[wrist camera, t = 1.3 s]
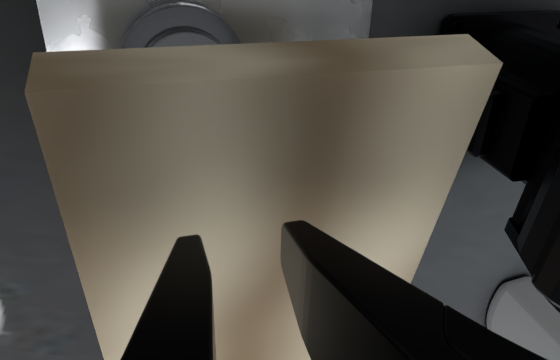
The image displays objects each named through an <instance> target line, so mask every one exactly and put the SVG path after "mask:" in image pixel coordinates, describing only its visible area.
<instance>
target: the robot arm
mask: <svg viewBox="0 0 560 360" xmlns="http://www.w3.org/2000/svg"><path fill="white" fill-rule="evenodd" d="M559 20H560V11H530V12H497V13H464V14H451V15H448V16H447V17H446V18H445V19H444V20H443V21H442V24H441V28H440V33H439V35H457V34H469V35H470V36H471V37H472V38H474V39H475V40H476V41H477V42H478V43H480V44H481V45H482V46H483V47H484V48H486V49H487V50H488V51H489V52H490V53H492V54H493V55H494V56H495V57H496V58H498V59H499V60H500V61H501V62H502V63H503V65H502V67H501V69H500V72H499V74H498V76H497V79H496V81H495V84H494V86H493V88H492V91H491V93H490V96H489V98H488V100H487V103H486V105H485V107H484V110H483V112H482V115H481V117H480V119H479V122H478V124H477V126H476V129H475V131H474V134H473V136H472V138H471V141H470V143H469V146H468V148H467V150H466V151H467V152H469V153H470V154H471V155H473V156H474V157H480V158H481V159H482V160H484V161H485V162H487V163H488V164H489V165H491V166H492V167H493V168H495V169H496V170H497V171H499V172H500V173H502V174H503V175H504V176H506V177H507V178H508V179H510V180H511V181H522V182H523V183H524V184H526V186H525V188H524V190H523V193H522V195H521V198H520V200H519V202H518V205H517V207H516V210H515V212H514V214H513V217H511V218H509V220H508V222H507V224H506V227H505V232H506V233H507V235H508V237H509V239H510V240H511V242H512V244H513V245H514V247H515V249H516V250H517V252H518V254H519V255H520V257H521V259H522V260H523V262H524V264H525V265H526V267H527V269H528V270H529V272H530V274H531V275H532V279H531V281H532V284H533V285H534V287H535V288H536V290H537V291H538V292H540V293H541V294H542V295H543V296H544V297H545V298H546V299H547V300H548V302H549V303H550V304H551V305H552V306H553V307H554V308H555V309H556V310H557V311H558V312H559V313H560V22H559V24H558V25H557V23H558V21H559ZM455 22H456V27H455V29H454V30H453V31H451V27H452V25H453V24H454V23H455ZM280 261H281V267H282V271H283V275H284V278H285V282H286V285H287V289H288V292H289V296H290V299H291V302H292V306H293V309H294V313H295V316H296V320H297V323H298V327H299V330H300V333H301V336H302V339H303V341H304V344H305V347H306V349H307V351H308V354H309V356H310V358H311V360H547V359H545V358H543V357H541V356H539V355H537V354H535V353H533V352H531V351H529V350H527V349H525V348H523V347H521V346H519V345H518V344H516V343H514V342H512V341H510V340H508V339H506V338H504V337H502V336H500V335H498V334H496V333H494V332H493V331H491V330H489V329H487V328H485V327H484V326H482V325H480V324H478V323H477V322H475V321H473V320H471V319H470V318H468V317H466V316H464V315H463V314H461V313H459V312H458V311H456V310H454V309H453V308H451V307H449V306H447V305H445V306H444V305H443V303H442V302H441V301H439V300H437V299H436V298H434V297H432V296H430V295H429V294H427V293H425V292H424V291H422V290H420V289H419V288H417V287H415V286H414V285H412V284H410V283H409V282H407V281H405V280H404V279H402V278H400V277H399V276H397V275H395V274H394V273H392V272H390V271H388V270H387V269H385V268H383V267H382V266H380V265H378V264H377V263H375V262H373V261H372V260H370V259H368V258H367V257H365V256H363V255H362V254H360V253H358V252H357V251H355V250H353V249H352V248H350V247H348V246H346V245H345V244H343V243H341V242H340V241H338V240H336V239H335V238H333V237H331V236H330V235H328V234H326V233H325V232H323V231H321V230H320V229H318V228H316V227H315V226H313V225H311V224H310V223H308V222H306V221H304V220H297V221H290V222H285V223H283V225H282V228H281V250H280ZM120 360H216V345H215V326H214V308H213V290H212V275H211V270H210V266H209V263H208V259H207V256H206V253H205V249H204V246H203V242H202V239H201V236H200V235H198V234H196V235H188V236H181V237H178V238H177V240H176V241H175V244H174V246H173V248H172V250H171V252H170V254H169V256H168V259H167V261H166V263H165V265H164V267H163V269H162V271H161V274H160V276H159V278H158V280H157V282H156V284H155V286H154V289H153V291H152V293H151V295H150V297H149V299H148V302H147V304H146V306H145V308H144V310H143V312H142V314H141V317H140V319H139V321H138V323H137V325H136V327H135V329H134V332H133V334H132V336H131V338H130V340H129V342H128V344H127V347H126V349H125V351H124V353H123V355H122V357H121V359H120Z"/></svg>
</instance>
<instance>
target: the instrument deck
mask: <svg viewBox="0 0 560 360" xmlns="http://www.w3.org/2000/svg"><path fill="white" fill-rule="evenodd" d="M502 65H503V63H502V62H501V61H500V60H499V59H498V58H496V57H495V56H494V55H493V54H492V53H490V52H489V51H488V50H487V49H486V48H484V47H483V46H482V45H481V44H480V43H478V42H477V41H476V40H475V39H474V38H472V37H471V36H470V35H469V34H457V35H434V36H410V37H386V38H363V39H339V40H316V41H292V42H268V43H245V44H221V45H198V46H174V47H150V48H127V49H103V50H80V51H56V52H33V54H32V59H31V63H30V68H29V73H28V77H27V82H26V87H25V91H24V93H25V96H26V99H27V103H28V106H29V109H30V113H31V116H32V119H33V123H34V126H35V129H36V133H37V136H38V140H39V143H40V146H41V150H42V153H43V156H44V160H45V163H46V166H47V170H48V173H49V176H50V180H51V183H52V186H53V190H54V193H55V197H56V200H57V203H58V207H59V210H60V213H61V217H62V220H63V223H64V227H65V230H66V233H67V237H68V240H69V244H70V247H71V250H72V254H73V257H74V260H75V264H76V267H77V270H78V274H79V277H80V280H81V284H82V287H83V291H84V294H85V297H86V301H87V304H88V307H89V311H90V314H91V317H92V321H93V324H94V327H95V331H96V334H97V338H98V341H99V344H100V348H101V351H102V354H103V358H104V360H120V359H121V357H122V355H123V353H124V351H125V349H126V347H127V344H128V342H129V340H130V338H131V336H132V334H133V332H134V329H135V327H136V325H137V323H138V321H139V319H140V317H141V314H142V312H143V310H144V308H145V306H146V304H147V302H148V299H149V297H150V295H151V293H152V291H153V289H154V286H155V284H156V282H157V280H158V278H159V276H160V274H161V271H162V269H163V267H164V265H165V263H166V261H167V259H168V256H169V254H170V252H171V250H172V248H173V246H174V244H175V241H176V240H177V238H178V237H181V236H188V235H196V234H198V235H200V236H201V239H202V242H203V246H204V249H205V253H206V256H207V259H208V263H209V266H210V270H211V275H212V290H213V308H214V326H215V345H216V360H311V358H310V356H309V354H308V351H307V349H306V347H305V344H304V341H303V339H302V336H301V333H300V330H299V327H298V323H297V320H296V316H295V313H294V309H293V306H292V302H291V299H290V296H289V292H288V289H287V285H286V282H285V278H284V275H283V271H282V267H281V261H280V250H281V228H282V225H283V223H285V222H290V221H297V220H304V221H306V222H308V223H310V224H311V225H313V226H315V227H316V228H318V229H320V230H321V231H323V232H325V233H326V234H328V235H330V236H331V237H333V238H335V239H336V240H338V241H340V242H341V243H343V244H345V245H346V246H348V247H350V248H352V249H353V250H355V251H357V252H358V253H360V254H362V255H363V256H365V257H367V258H368V259H370V260H372V261H373V262H375V263H377V264H378V265H380V266H382V267H383V268H385V269H387V270H388V271H390V272H392V273H394V274H395V275H397V276H399V277H400V278H402V279H404V280H405V281H407V282H409V283H410V284H411V281H412V279H413V276H414V274H415V272H416V269H417V267H418V265H419V262H420V260H421V257H422V255H423V253H424V250H425V248H426V246H427V243H428V241H429V238H430V236H431V234H432V231H433V229H434V226H435V224H436V222H437V219H438V217H439V215H440V212H441V210H442V207H443V205H444V203H445V200H446V198H447V196H448V193H449V191H450V188H451V186H452V184H453V181H454V179H455V176H456V174H457V172H458V169H459V167H460V165H461V162H462V160H463V157H464V155H465V153H466V150H467V148H468V146H469V143H470V141H471V138H472V136H473V134H474V131H475V129H476V126H477V124H478V122H479V119H480V117H481V115H482V112H483V110H484V107H485V105H486V103H487V100H488V98H489V96H490V93H491V91H492V88H493V86H494V84H495V81H496V79H497V76H498V74H499V72H500V69H501V67H502Z"/></svg>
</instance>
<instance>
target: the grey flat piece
mask: <svg viewBox="0 0 560 360" xmlns="http://www.w3.org/2000/svg"><path fill="white" fill-rule="evenodd" d="M36 2H37V7H38V12H39V17H40V22H41V26H42V31H43V36H44V41H45V46H46V50H47V52H56V51H80V50H103V49H127V48H150V47H174V46H198V45H221V44H245V43H268V42H292V41H316V40H339V39H363V38H369V31H370V22H371V13H372V5H373V0H36Z"/></svg>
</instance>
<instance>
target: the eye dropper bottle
mask: <svg viewBox="0 0 560 360" xmlns="http://www.w3.org/2000/svg"><path fill="white" fill-rule="evenodd" d="M531 279H532V278H531V277H522V278H518V279H515V280H511V281H508V282H505V283H503V284H502V285H501V286H500V287H499V288H498V290H497V291H496V293H495V295H494V297H493V299H492V301H491V303H490V306H489V309H488V313H487V320H486V323H487V329H489V330H491V331H493V332H494V333H496V334H498V335H500V336H502V337H504V338H506V339H508V340H510V341H512V342H514V343H516V344H518V345H519V346H521V347H523V348H525V349H527V350H529V351H531V352H533V353H535V354H537V355H539V356H541V357H543V358H545V359H547V360H560V313H559V312H558V311H557V310H556V309H555V308H554V307H553V306H552V305H551V304H550V303H549V302H548V300H547V299H546V298H545V297H544V296H543V295H542V294H541V293H540V292H538V291H537V290H536V288H535V287H534V285H533V284H532V281H531Z"/></svg>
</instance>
